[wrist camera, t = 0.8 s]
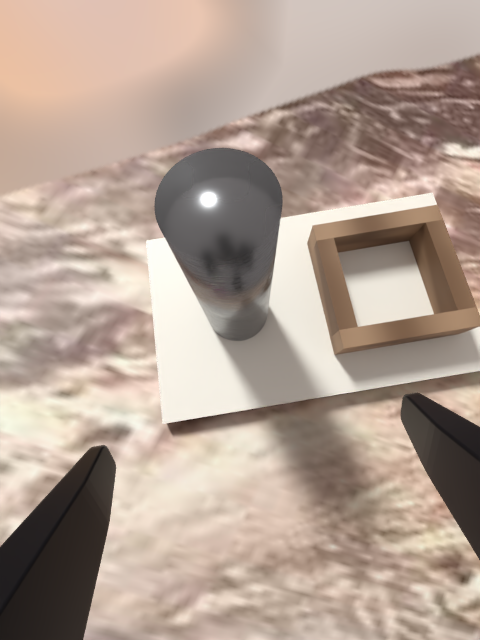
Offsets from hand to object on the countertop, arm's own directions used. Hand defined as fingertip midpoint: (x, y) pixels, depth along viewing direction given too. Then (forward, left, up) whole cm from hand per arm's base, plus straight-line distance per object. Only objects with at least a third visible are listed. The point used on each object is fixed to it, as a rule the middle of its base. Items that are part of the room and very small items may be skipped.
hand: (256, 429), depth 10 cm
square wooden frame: (+1, -13, -12) cm, 18 cm away
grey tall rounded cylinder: (+6, -4, -12) cm, 14 cm away
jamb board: (+4, -9, -13) cm, 16 cm away
